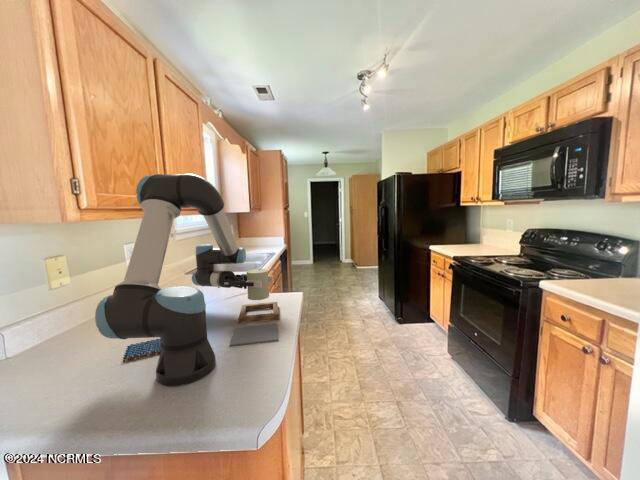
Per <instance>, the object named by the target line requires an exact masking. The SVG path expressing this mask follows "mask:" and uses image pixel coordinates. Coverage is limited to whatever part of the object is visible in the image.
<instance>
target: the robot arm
mask: <svg viewBox="0 0 640 480" xmlns="http://www.w3.org/2000/svg"><path fill="white" fill-rule="evenodd" d="M135 191H136V192H135V193H136V200H137V202H138V204H139V206H140V209H142V211H143V216H142V219H141V222H140V225H139V228H138V232H137V235H136V238H135V242H134V245H133V249H132V252H131V255H130V259H129V262H128V266H127V269H126V273H125V275H124V279H123V281H122V282H120V283H118V284H116V285H115V286H114V289H113V293H112V294H109V295H107V296H105V297H103V298H102V299H101V300H100V301H99V303H98V304H97V306H96V309H95V315H94V320H95V326H96V328H98V332H99V333H100V334H101V336H104V337H105V338H108V339H112V340H113V339H116V340H117V339H119V340H127V339H143V338H144V339H145V338H146V339H147V338H159V339H160V340H161V353H159V357H158V361H157V365H156V367H155V368H156V369H155V376H156V381H157V383H158V384H160V385H162V386H165V387H179V386H186V385H189V384H191V383H195V382H198V381H199V380H201V379H203V378H205V377H207V375H209V374H211V373H212V372H213V370H214V369H215V368H216V364H217V360H216V353H215V352H214V349H213V347H212V346H211V343H210V341H209V339H208V338H209V337H208V328H207V327H208V325H207V311H206V308H207V307H206V306H207V305H206V301H205V295H204V292H202V291H201V290H200V289H199V288H197V287H193V286H186V285H184V286H183V285H182V286H181V285H179V286H178V285H177V286H169V287H165V288H161V287H160V286H159V282H160V278H161V274H162V270H163V265H164V262H165V257H166V254H167V248H168V245H169V241H170V236H171V232H172V229H173V223H174V220H175V219H177V218H178V217H180V215H181V212H182V209H185V208H186V209H190V208H193V209H196V210H197V213H199V214H200V215H201V216H203V217H204V220H205V221H206V224H207V225H208V228H209V230H210V231H211V234H212V236H213V238H214V240H215V242H216V244H217V246H218V247H216V248H215V247H214V245H213V244H212V243H210V244H209V243H205V244H204V243H202V244H197V245H196V246H195V263H196V269H195V270H194V271H193V272H192V275H191V281H192V283H193V284H194V285H195V286H198V287H199V286H200V287H213V288H214V287H215V288H216V287H217V288H218V289H220V288H226V289H227V288H228V289H230V288H237V289H244V290H248V287H255V288H262V281H253V280H247V273H242V274H235V273H234V271H231V270H219V269H217V270H215V265H239V264H244V263H245V262H246V258H247V252H246V249H245V248H244V247H241V246H240V247H239V246H238V244H237V241H236V238H235V236H234V234H233V230H232V229H231V226H230V225H231V224H230V223H229V221H228V218H227V215H226V212H225V210H224V208H225V203H224V200H223V197H222V195H221V194H220V192H219V191H218V189H216V187H215V186H214V185H213V184H212V183H211V182H209V181H208V180H207V179H205V178H204V177H202V176H200V175H197V174H194V173H172V174H171V173H170V174H169V173H167V174H165V173H155V174H149V175H146V176H143V177H142V178H141V179H140V180H139V181H138V182H137V186H136V189H135ZM268 283H274V276H273V275H268Z"/></svg>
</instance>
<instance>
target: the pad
mask: <svg viewBox="0 0 640 480" xmlns="http://www.w3.org/2000/svg"><path fill="white" fill-rule="evenodd" d="M278 341H279V335H278V323H277V322H276V323H273V322H272V323H265V324H255V325H245V326H236V327H234V329H233V331H232V335H231V338H230V342H229V348H231V347H238V346H239V347H240V346H247V345H255V344H257V345H258V344H263V343H264V344H265V343H273V342H278Z"/></svg>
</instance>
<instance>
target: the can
mask: <svg viewBox="0 0 640 480" xmlns="http://www.w3.org/2000/svg"><path fill="white" fill-rule="evenodd" d="M245 274H247V280H253V281H262V288H255V287H247V299H248V300H250V301H261V300H265V299H268V298H270V289H269V288H270V287H269V285H270V284H269V282H268V276H269V269H266V268H256V269H255V268H254V269H249V270H247V271H246V273H245Z"/></svg>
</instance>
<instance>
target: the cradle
mask: <svg viewBox="0 0 640 480" xmlns="http://www.w3.org/2000/svg"><path fill="white" fill-rule="evenodd" d="M278 304H279V303H278V301H271V302H262V303H258V302H257V303H249V304H248V303H247V304H242V305H241V307H240V311H239V314H238V315H239V316H238V320H237V321H238V324H246V323H247V324H248V323H256V322H266V321H274V320H280V315H279V305H278ZM268 308H269V309H272V310H273V312H269V313H260V314H248V315H246V314H247V311H256V310H257V311H258V310H267V309H268Z"/></svg>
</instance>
